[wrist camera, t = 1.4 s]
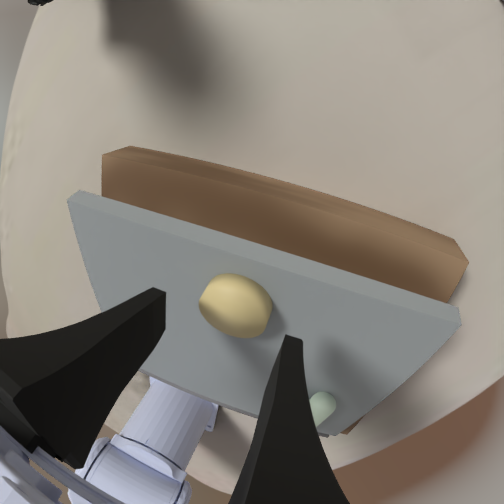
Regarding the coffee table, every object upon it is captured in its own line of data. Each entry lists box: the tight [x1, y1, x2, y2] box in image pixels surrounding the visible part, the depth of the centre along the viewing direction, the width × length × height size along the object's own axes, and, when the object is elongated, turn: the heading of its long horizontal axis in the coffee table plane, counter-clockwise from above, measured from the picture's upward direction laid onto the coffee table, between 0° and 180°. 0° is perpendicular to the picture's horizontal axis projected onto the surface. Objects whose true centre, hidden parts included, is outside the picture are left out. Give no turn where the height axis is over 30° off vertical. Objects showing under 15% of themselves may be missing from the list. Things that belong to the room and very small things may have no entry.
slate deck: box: [67, 190, 461, 437], centre depth 17 cm, size 17×19×3 cm
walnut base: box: [102, 146, 469, 434], centre depth 21 cm, size 18×22×3 cm
